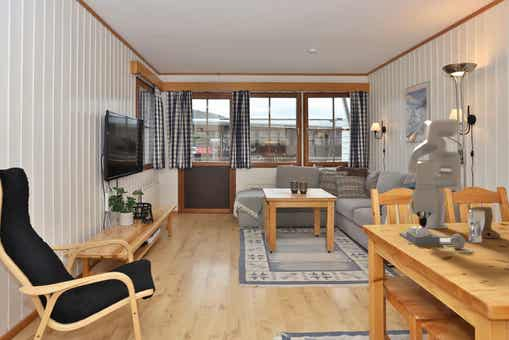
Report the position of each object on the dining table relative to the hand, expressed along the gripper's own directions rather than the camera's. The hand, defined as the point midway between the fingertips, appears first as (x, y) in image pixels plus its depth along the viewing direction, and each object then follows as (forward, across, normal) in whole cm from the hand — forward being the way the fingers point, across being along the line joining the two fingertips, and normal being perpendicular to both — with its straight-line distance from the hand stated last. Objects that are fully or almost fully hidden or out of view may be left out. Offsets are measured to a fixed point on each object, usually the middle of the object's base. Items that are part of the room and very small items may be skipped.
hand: (422, 226), depth 179 cm
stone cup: (+8, -37, -14) cm, 41 cm away
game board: (+8, -5, 0) cm, 9 cm away
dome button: (+6, 0, 0) cm, 6 cm away
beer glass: (+8, -26, -2) cm, 27 cm away
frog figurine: (+8, -11, +11) cm, 18 cm away
